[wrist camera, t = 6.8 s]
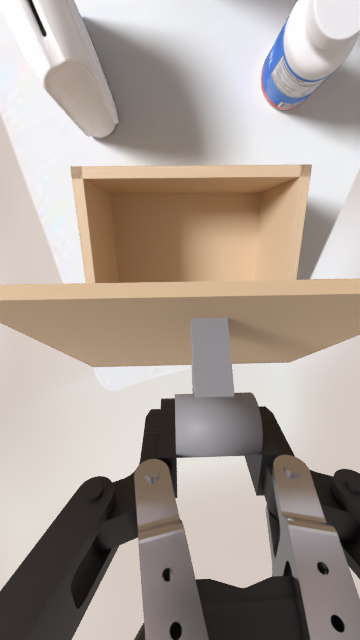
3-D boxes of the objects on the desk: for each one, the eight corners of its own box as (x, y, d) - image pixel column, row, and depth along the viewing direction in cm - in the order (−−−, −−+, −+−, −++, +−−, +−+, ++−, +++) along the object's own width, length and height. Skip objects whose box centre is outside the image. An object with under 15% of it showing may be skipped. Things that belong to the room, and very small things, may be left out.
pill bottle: (285, 29, 25) (353, -90, 16) (324, 73, 26) (407, -13, 17) (247, 85, 26) (288, 7, 17) (285, 125, 27) (342, 71, 18)
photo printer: (36, 25, 24) (-91, -166, 13) (78, 4, 24) (-14, -214, 12) (88, 146, 27) (25, 84, 16) (125, 129, 27) (89, 52, 15)
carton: (104, 187, 29) (70, 166, 19) (266, 185, 29) (311, 164, 20) (117, 324, 34) (95, 360, 24) (254, 321, 34) (286, 356, 25)
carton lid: (-41, 285, 9) (-94, 485, 7) (463, 276, 10) (540, 464, 8) (93, 360, 24) (88, 432, 23) (288, 356, 25) (299, 426, 23)
